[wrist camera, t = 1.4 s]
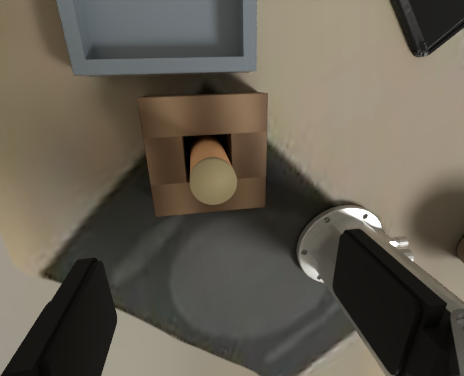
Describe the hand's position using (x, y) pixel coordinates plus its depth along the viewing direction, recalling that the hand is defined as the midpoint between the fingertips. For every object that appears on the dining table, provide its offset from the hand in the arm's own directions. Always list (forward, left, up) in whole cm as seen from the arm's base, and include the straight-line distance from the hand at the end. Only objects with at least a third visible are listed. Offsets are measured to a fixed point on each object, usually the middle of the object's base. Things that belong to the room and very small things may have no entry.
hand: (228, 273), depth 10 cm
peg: (0, 0, -21) cm, 21 cm away
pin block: (0, 0, -21) cm, 21 cm away
